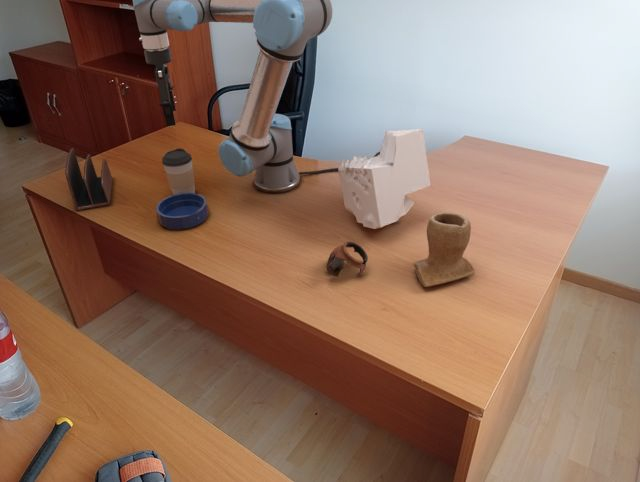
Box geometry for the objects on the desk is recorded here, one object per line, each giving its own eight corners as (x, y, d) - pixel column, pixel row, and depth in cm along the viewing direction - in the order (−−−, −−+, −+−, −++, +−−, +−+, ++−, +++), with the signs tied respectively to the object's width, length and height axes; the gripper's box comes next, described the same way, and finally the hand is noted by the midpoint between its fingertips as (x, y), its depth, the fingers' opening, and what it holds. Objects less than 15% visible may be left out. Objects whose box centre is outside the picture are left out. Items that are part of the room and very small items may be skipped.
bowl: (211, 204, 153) (209, 191, 150) (204, 229, 141) (202, 216, 138) (165, 206, 152) (162, 193, 150) (154, 232, 140) (150, 218, 138)
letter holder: (76, 211, 152) (61, 170, 144) (82, 183, 167) (69, 144, 159) (110, 205, 154) (97, 164, 146) (112, 178, 170) (101, 140, 162)
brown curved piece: (334, 255, 129) (350, 234, 125) (360, 280, 127) (377, 259, 123) (310, 270, 119) (326, 247, 115) (337, 297, 117) (355, 274, 113)
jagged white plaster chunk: (379, 239, 129) (363, 146, 122) (346, 231, 143) (329, 147, 135) (435, 217, 138) (423, 129, 131) (399, 211, 152) (386, 131, 144)
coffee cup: (191, 203, 153) (182, 159, 145) (165, 201, 155) (155, 158, 147) (203, 189, 161) (195, 147, 152) (177, 187, 162) (168, 146, 154)
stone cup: (453, 252, 128) (461, 202, 120) (479, 278, 119) (490, 227, 110) (401, 264, 124) (405, 214, 116) (424, 293, 115) (431, 241, 107)
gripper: (146, 40, 153) (160, 106, 165) (140, 59, 133) (157, 133, 145) (170, 38, 154) (183, 104, 166) (168, 57, 134) (183, 130, 146)
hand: (171, 118), depth 156 cm, fingers open, 13 cm apart
